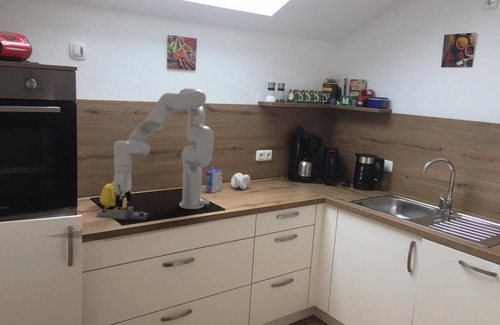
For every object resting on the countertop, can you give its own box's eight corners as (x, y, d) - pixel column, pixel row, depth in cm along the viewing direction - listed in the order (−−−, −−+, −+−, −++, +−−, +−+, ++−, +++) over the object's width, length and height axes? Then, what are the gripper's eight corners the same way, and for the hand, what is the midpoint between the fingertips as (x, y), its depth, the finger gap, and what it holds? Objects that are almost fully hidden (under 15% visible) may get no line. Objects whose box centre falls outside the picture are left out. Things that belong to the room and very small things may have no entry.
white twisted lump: (244, 185, 267) (245, 171, 265) (253, 189, 257) (254, 175, 255) (228, 186, 262) (229, 172, 260) (237, 191, 251) (238, 176, 250)
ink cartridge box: (215, 188, 254) (215, 165, 252) (222, 190, 252) (223, 166, 249) (204, 191, 246) (205, 167, 244) (212, 193, 243) (213, 169, 241)
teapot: (94, 211, 198) (93, 186, 196) (107, 200, 218) (107, 177, 215) (122, 213, 198) (122, 187, 196) (133, 201, 218) (133, 178, 216)
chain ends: (148, 216, 196) (149, 208, 195) (143, 221, 189) (143, 212, 188) (103, 212, 198) (103, 204, 197) (96, 216, 191) (96, 208, 190)
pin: (127, 216, 195) (127, 195, 193) (124, 217, 192) (124, 197, 190) (121, 215, 195) (121, 194, 193) (118, 217, 192) (118, 196, 190)
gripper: (122, 163, 198) (123, 198, 201) (106, 171, 181) (107, 208, 184) (138, 164, 197) (138, 199, 200) (123, 172, 180) (123, 210, 183)
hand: (123, 204), depth 192 cm, fingers open, 9 cm apart
